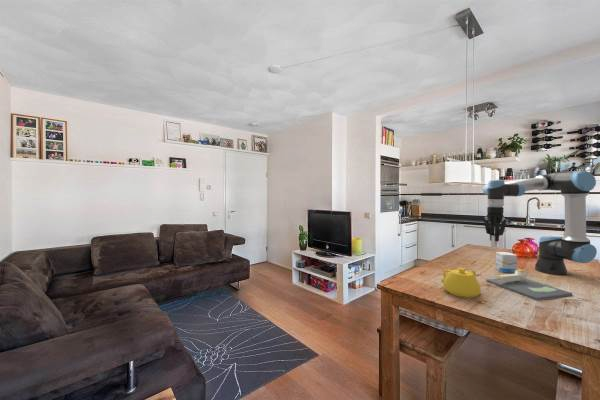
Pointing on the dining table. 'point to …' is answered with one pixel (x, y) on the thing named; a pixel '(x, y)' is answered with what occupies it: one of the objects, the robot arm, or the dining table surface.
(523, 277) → the peg lever
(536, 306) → the dining table surface
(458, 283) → the teapot
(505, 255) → the ink box
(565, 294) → the board
